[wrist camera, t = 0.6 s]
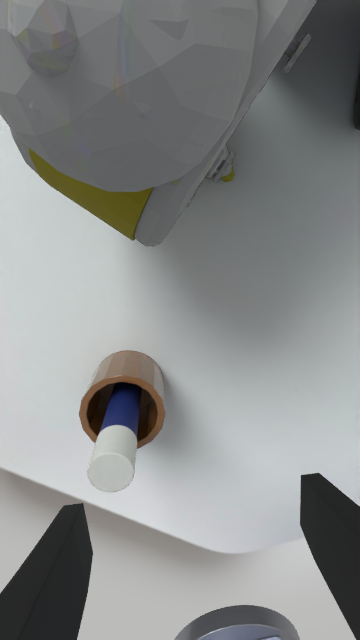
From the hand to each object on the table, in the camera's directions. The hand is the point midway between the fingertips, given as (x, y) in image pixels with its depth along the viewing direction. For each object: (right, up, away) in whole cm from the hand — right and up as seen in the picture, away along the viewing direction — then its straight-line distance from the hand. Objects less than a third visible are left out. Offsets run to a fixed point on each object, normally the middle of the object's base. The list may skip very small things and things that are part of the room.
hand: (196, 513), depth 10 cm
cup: (-4, +2, +11) cm, 12 cm away
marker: (-4, +2, +10) cm, 11 cm away
